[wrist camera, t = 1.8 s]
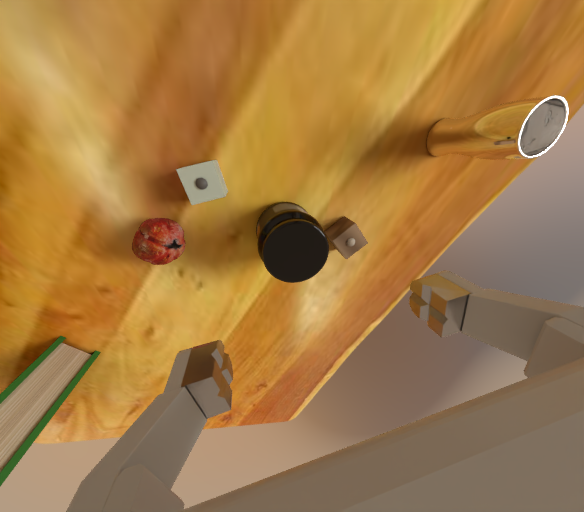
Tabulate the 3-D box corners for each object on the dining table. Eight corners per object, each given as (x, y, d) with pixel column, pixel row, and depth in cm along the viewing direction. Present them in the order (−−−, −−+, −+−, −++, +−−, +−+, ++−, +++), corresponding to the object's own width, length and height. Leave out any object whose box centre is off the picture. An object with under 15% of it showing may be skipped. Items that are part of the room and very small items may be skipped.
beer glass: (465, 124, 38) (581, 107, 25) (444, 164, 41) (539, 167, 28) (437, 108, 36) (547, 81, 23) (417, 151, 39) (505, 149, 26)
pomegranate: (159, 250, 40) (197, 269, 36) (113, 256, 33) (155, 279, 30) (162, 211, 38) (203, 227, 34) (114, 209, 31) (159, 228, 28)
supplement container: (259, 257, 42) (263, 291, 31) (252, 203, 37) (253, 222, 27) (311, 250, 43) (331, 280, 33) (310, 197, 39) (333, 213, 28)
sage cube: (217, 159, 34) (212, 160, 29) (228, 191, 36) (225, 196, 31) (185, 167, 33) (175, 169, 29) (198, 199, 35) (191, 205, 31)
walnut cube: (343, 216, 42) (355, 223, 37) (355, 234, 44) (368, 243, 39) (323, 232, 42) (333, 241, 38) (336, 249, 44) (346, 259, 40)
